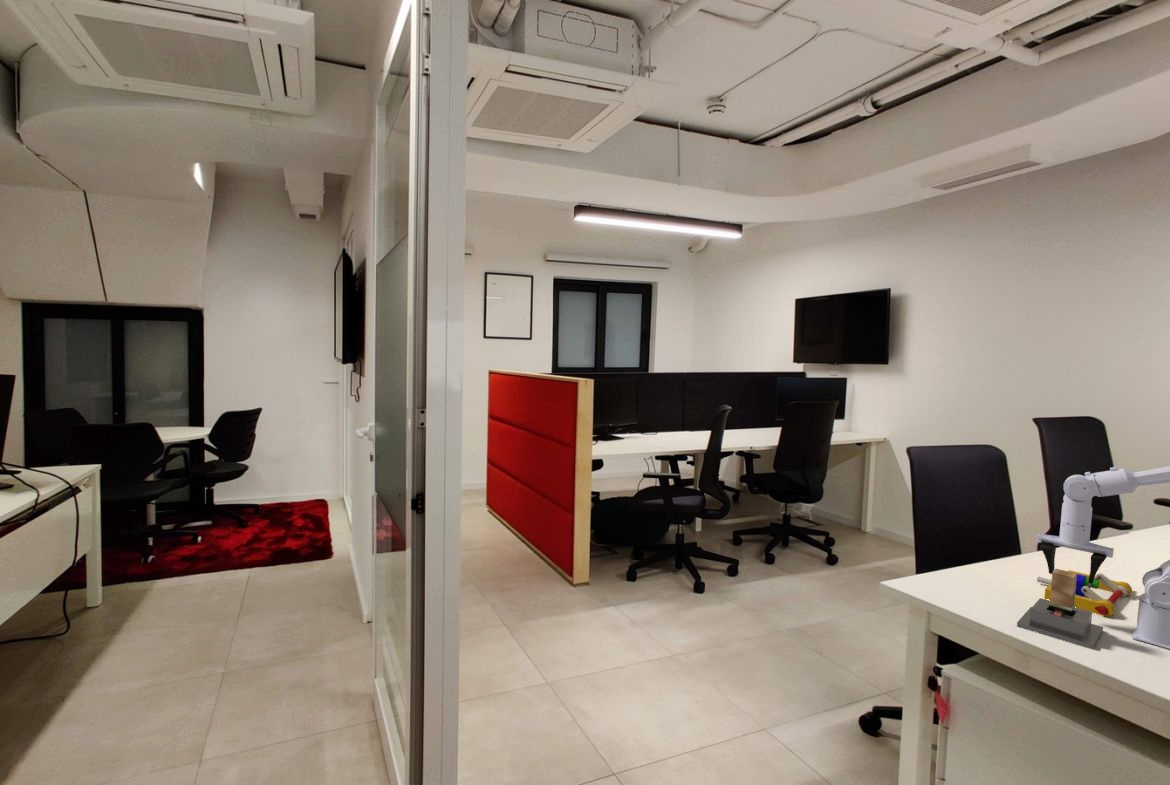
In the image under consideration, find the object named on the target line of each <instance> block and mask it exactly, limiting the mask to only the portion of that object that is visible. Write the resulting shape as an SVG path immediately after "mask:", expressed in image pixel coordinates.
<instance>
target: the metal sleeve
mask: <svg viewBox="0 0 1170 785" xmlns="http://www.w3.org/2000/svg"><path fill="white" fill-rule="evenodd" d="M1049 602H1050V601H1049V600H1046V599H1044V598H1042V597H1040V598H1038V600H1037V601H1036V602H1035V603H1034V604H1033V605H1032V606H1030V607H1029V609H1027V611H1025V613H1024V614H1023V615H1022V617H1020V619H1018V621H1017V622H1016V627H1018V626H1020V627H1019V628H1021V627H1023V628H1022V629H1024V628H1026V629H1025V630H1027V629H1030V630H1029V631H1031V630H1033V631H1032V632H1034V631H1036V632H1035V633H1037V632H1040V633H1039V634H1041V633H1042V635H1044V634H1045V635H1044V636H1047V635H1048V637H1051V636H1052V637H1051V638H1054V637H1056V638H1055V639H1057V638H1059V639H1058V640H1060V639H1062V640H1061V641H1064V640H1065V641H1064V642H1067V641H1068V642H1067V643H1070V642H1071V643H1072V644H1074V645H1077V646H1080V645H1081V647H1085V648H1087V647H1088V648H1087V649H1090V648H1091V650H1094V648H1096V646H1097V643H1098V642H1099V639H1100V637H1101V636H1102V634H1103V631H1104V626H1101V625H1097V624H1094V623H1092V618H1093V613H1092V612H1090V611H1086V610H1083V609H1079V608H1075V607H1074V608H1073V610H1072V611H1069V610H1066V609H1062V608H1058V607H1055V606H1051V605H1049ZM1071 643H1070V644H1071Z"/></svg>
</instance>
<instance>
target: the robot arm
mask: <svg viewBox="0 0 1170 785" xmlns="http://www.w3.org/2000/svg"><path fill="white" fill-rule="evenodd" d="M1168 483H1169V484H1170V465H1168V466H1162V467H1157V468H1151V469H1146V470H1141V471H1135V472H1133V471H1130V470H1128V469H1125V468H1118V467H1117V466H1113V467H1110V468H1109V470H1105V471H1098V472H1093V473H1091V471H1087V472H1084V475H1082V474H1073V475H1070V476H1069V477H1067V478H1066V480H1065V481H1064V482H1063V492H1064V495H1063V497H1062V499H1063V500H1062V501H1063V502H1062V504H1061V505H1062V506H1061V515H1060V516H1061V517H1060V527H1059V535H1053V534H1052V535H1050V534H1044V533H1037V534H1036V538H1035V539H1036V543H1038V544H1039V543H1040V550H1041V551H1042V552H1043V555H1044V557H1045V559H1046V560H1045V561H1046V563H1047V568H1048V574H1049V575H1052V572H1053V571H1054V570H1055V559H1056V558H1055V557H1056V551H1057V546H1058V547H1062V548H1066V549H1071V550H1077V551H1080V552H1087V553H1090V554H1091V556H1090V569H1089V570H1090V571H1089V574H1088V575H1089V583H1091V584H1092V583H1093V582H1094V578H1095V576H1096V575H1097V574H1098V573H1097V572H1098V571H1099V569H1100V567H1101V566H1102V564H1103V563H1104V561H1105V560H1106V559H1107V558H1113V556H1114V551H1115V550H1114V549H1115V548H1113V547H1108V546H1104V545H1101V544H1096V543H1093V542H1090V539H1091V538H1090V537H1091V530H1092V529H1091V528H1092V518H1093V507H1092V500H1093V497H1098V498H1100V497H1110V496H1116V495H1117V496H1118V495H1123V494H1131V493H1134V492H1135V491H1136V489H1137V488H1138V487H1142V486H1150V485H1151V486H1152V485H1159V484H1168ZM1141 582H1142V585H1143V587H1144V593H1142V594H1140V595H1139V599H1138V610H1137V620H1136V627H1134V630H1133V633H1132V635H1131V638H1132V639H1134V640H1136V641H1140V642H1144V643H1147V644H1151V645H1155V646H1157V647H1161V648H1164V649H1169V650H1170V559H1169V560H1168V559H1167V561H1165V562H1163V563H1161V564H1160V566H1158V567H1156V568H1154V569H1151V570H1149V571H1146V572H1145V573H1144V574H1143V575H1142V581H1141Z"/></svg>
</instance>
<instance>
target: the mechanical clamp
mask: <svg viewBox="0 0 1170 785" xmlns="http://www.w3.org/2000/svg"><path fill="white" fill-rule="evenodd" d="M1067 571H1068V572H1073V573H1077V581H1076V592H1075V603H1074V604H1075V607H1076V608H1079V609H1083V610H1086V611H1090V612H1092V614H1095V613H1096V615H1100V616H1103V617H1107V618H1111V617H1112V616H1113V615H1114V613H1116V607H1115V605H1114V604H1115V603H1116V602H1117V601H1118V600H1119V599H1120V598H1128V597H1129V596H1130V595H1131V594H1132V591H1133V588H1132V586H1131V585H1130V583H1128V582H1125V581H1116V580H1112V579H1110V578H1108V576H1106V575H1105V574H1103V573H1100V572H1099V573H1096V575H1095V578H1094V582H1093V583H1092V584H1091V583H1089V575H1090V574H1087V573H1083V572H1080V571H1079V572H1078V571H1074V570H1071V569H1069V570H1067ZM1036 582H1037V583H1041V584H1044V585H1048V586H1047V587H1046V588H1044V598H1045V600H1046V599H1049V600H1050V594H1051V583H1052V579H1049V578H1045V577H1043V576H1042V577H1041V576H1037V579H1036ZM1091 588H1092V589H1094V590H1095V589H1096V590H1101V591H1102V590H1103V591H1107V592H1110V593H1112V594H1111V595H1110V596H1109V597H1108V598H1107V600H1106V599H1104V598H1102V597H1101V595H1099V594H1098V593H1096V592H1095V591H1094V590H1092V589H1091ZM1076 594H1077V595H1076ZM1079 595H1080V596H1079ZM1084 595H1085V596H1086V597H1085V596H1084ZM1083 596H1084V597H1083ZM1044 598H1043V599H1044Z"/></svg>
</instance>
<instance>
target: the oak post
mask: <svg viewBox="0 0 1170 785" xmlns="http://www.w3.org/2000/svg"><path fill="white" fill-rule="evenodd" d="M1068 571H1069V570H1063V569H1058V568H1054V571H1053V572H1052V574H1051V580H1052V583H1051V594H1050V602H1049V605H1051V606H1055V607H1058V608H1062V609H1066V610H1069V611H1072V610H1073V608H1074V607H1075V604H1074V603H1075V595H1076V594H1075V592H1076V581H1077V573H1073V572H1068Z"/></svg>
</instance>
